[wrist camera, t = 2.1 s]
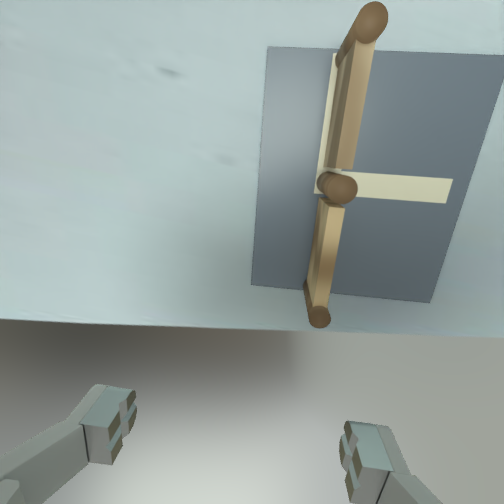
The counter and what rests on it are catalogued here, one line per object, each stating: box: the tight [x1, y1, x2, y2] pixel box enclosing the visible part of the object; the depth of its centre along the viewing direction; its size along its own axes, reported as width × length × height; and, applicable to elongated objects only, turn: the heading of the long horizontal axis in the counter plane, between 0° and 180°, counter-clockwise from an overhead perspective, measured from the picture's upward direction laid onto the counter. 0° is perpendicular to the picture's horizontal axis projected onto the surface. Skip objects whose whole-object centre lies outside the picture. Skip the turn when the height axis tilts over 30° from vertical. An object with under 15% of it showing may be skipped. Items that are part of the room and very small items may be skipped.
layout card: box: [251, 46, 504, 303], centre depth 25 cm, size 19×22×1 cm
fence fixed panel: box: [316, 1, 388, 204], centre depth 20 cm, size 2×12×7 cm, turn 176°
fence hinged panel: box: [303, 197, 345, 328], centre depth 24 cm, size 10×2×6 cm, turn 176°
